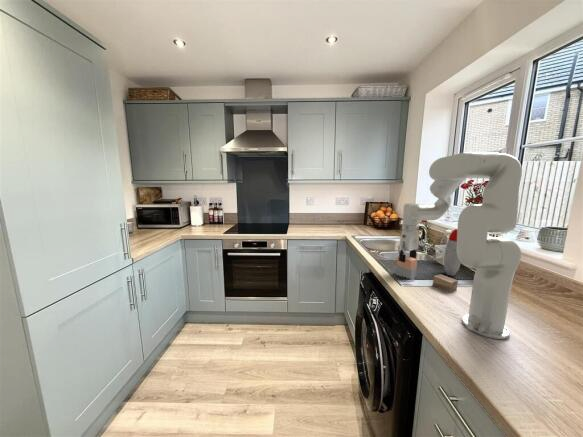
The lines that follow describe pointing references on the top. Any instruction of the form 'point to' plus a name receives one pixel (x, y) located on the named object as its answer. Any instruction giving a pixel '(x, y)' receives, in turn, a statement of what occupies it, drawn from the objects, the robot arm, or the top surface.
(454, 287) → the walnut brick
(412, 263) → the terracotta brick
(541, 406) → the top surface
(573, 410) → the top surface
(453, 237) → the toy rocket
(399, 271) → the slate-grey brick
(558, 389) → the top surface
